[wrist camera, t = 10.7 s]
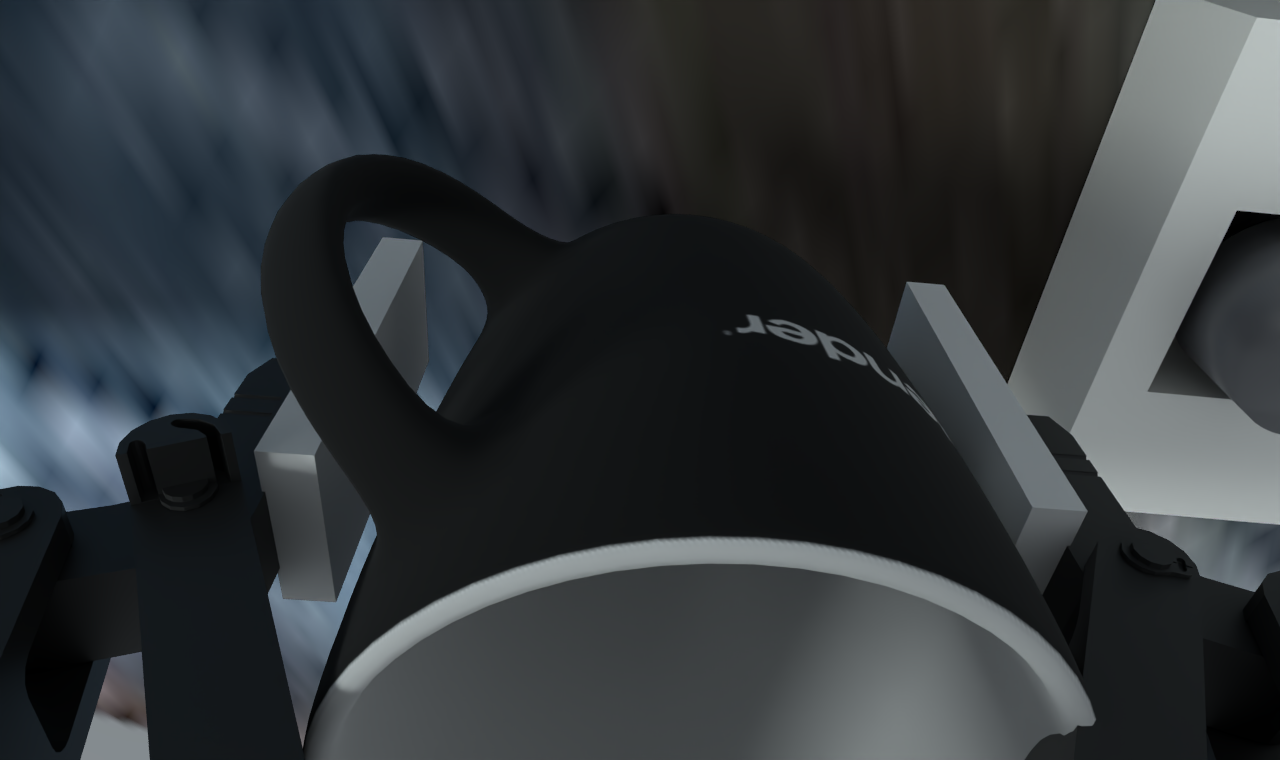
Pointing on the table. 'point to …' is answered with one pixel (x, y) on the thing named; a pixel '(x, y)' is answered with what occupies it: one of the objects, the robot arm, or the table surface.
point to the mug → (648, 507)
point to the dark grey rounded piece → (1241, 322)
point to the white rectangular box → (1164, 269)
